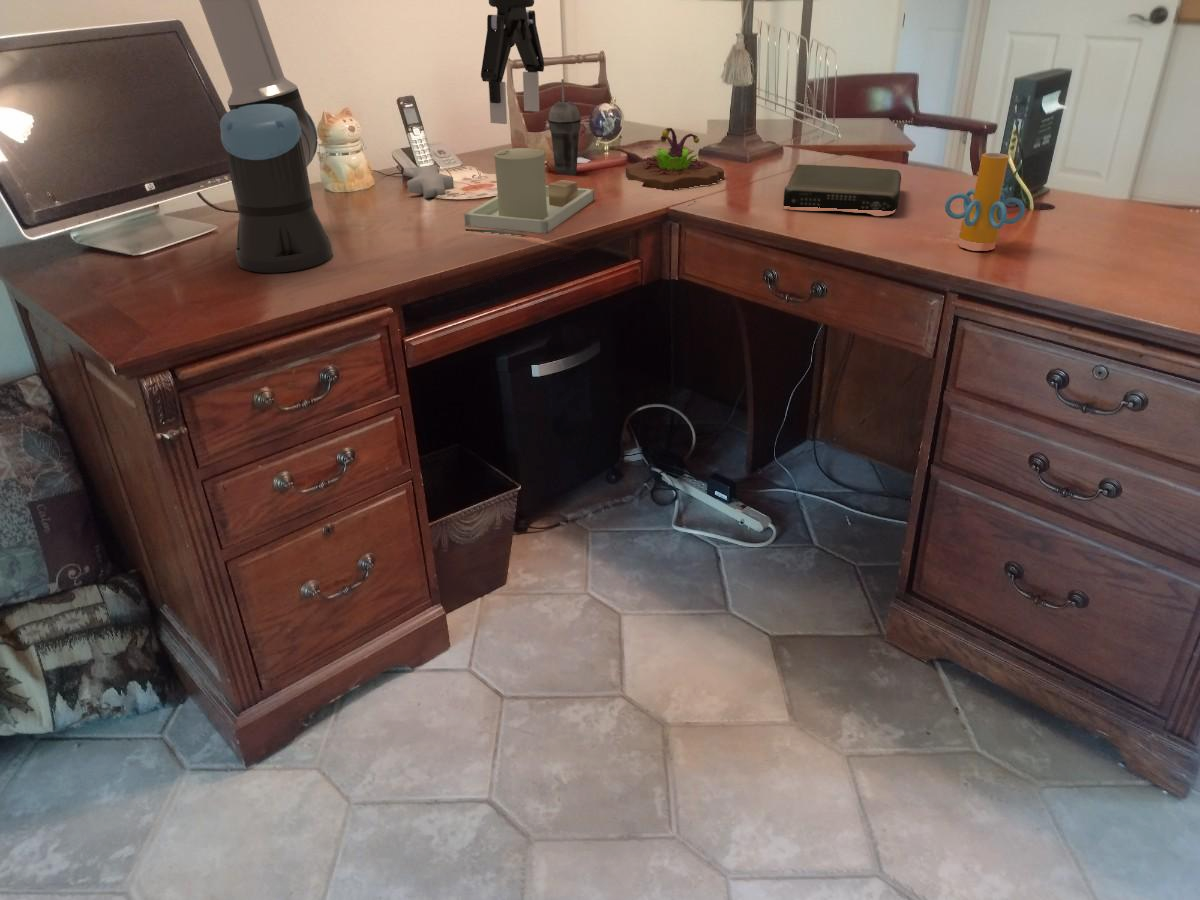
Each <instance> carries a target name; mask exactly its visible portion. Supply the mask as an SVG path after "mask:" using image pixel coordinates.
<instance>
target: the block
mask: <svg viewBox="0 0 1200 900" xmlns="http://www.w3.org/2000/svg"><path fill="white" fill-rule="evenodd" d="M578 184H579V183H578V182H577V181H572V180H564V179H560V180H557V181H553V182H551V183H548V184H547V186H549V205H553V206H558V207H563V206H564V205H566V204H568V203H569V202H571V201H572V200H574V199H575V198H577V197H578V188H579V187H578Z"/></svg>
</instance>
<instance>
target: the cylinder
mask: <svg viewBox="0 0 1200 900" xmlns="http://www.w3.org/2000/svg"><path fill="white" fill-rule="evenodd" d="M1009 159H1010V156H1009V155H1008V154H1005V153H1001V152H1000V153H998V152H985V153H982V154H981V158H980V164H979V169H978V173H977V178H976V183H975V189H974V188H973V189H969V190H968V191H967V192H966V193H961V192H957V193H954V194H952V195H950V196H949V197H948V198H947V200H946V201H945V204H944V210H945V213H946V214H947V216H948V217H950V218H952V219H955V220H960V219H963V220H962V222H961V226H960V230H959V235H958V238H959V237H960V238H961V239H963V240H966V241H970V242H976V243H993V242H996V241H997V242H998V239H999V234H1000V231H1001V230H1000V229H1001V228H1002V227H1003V226H1004V225H1005V224H1006V225H1011V224H1016V223H1017V222H1019V221H1020V220H1021V219H1022V218H1023V217H1024V215H1025V213H1026V207H1025V204H1024V202H1023V201H1022V200H1021V199H1019V198H1017V197H1007V198H1005V197H1006V196H1005V194H1004V192H1003V185H1004V181H1005V177H1006V171H1007V167H1008V164H1009V163H1008V162H1009ZM971 195H973V197H972V198H971ZM956 199H963V203H962V206H963V209H964V212H962V213H960V214H959V213H954V212H953V211H952V210H951V203H953V201H954V200H956ZM1009 203H1013V204H1016V205H1017V206H1018V207H1019V212H1018V214H1017V215H1016V216H1015V217H1014V218H1008V211H1007V207H1006V205H1007V204H1009Z"/></svg>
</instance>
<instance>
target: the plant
mask: <svg viewBox="0 0 1200 900" xmlns="http://www.w3.org/2000/svg"><path fill="white" fill-rule="evenodd" d="M670 133H671V137H669V134H670ZM677 137H678V136H677V135H676V132H675V130H674V129H673V128H672V127H667V128H664V129H663V130H662V133H661V137H660V142H661V143H666V142H667V141H668V143H669V146H670V147H669V148H668V150H667V151H666V150H665V149H662V148H658V149H657V150H656V154H657V155H656V154H653V153H651V155H652V157H653V158H651V157H646V158H645V160H642V161H637V162H635V163H633V164H631V165H628V166H626V167H625V177H626V178H627V180H628V181H638V182H639V183H642V185H641V188H647V189H648V188H649V189H654V188H656V189H655V190H660V189H661V190H662V191H667V190H672V191H675V190H674V189H678V190H680V189H679V188H688V189H690V188H689V187H694V186H700V185H709V184H712V183H717V182H718V183H719V181H718V180H720V179H725V170H724V169H723V168H722V167H721V166H716V165H715V164H712V163H710V162H707V161H704V160H698V158H697V155H698V153H694V154H692V155H690V156H689V154H690V152H691V149H688V147H684V144H685V143H686V140H687V139H689V138H691V137H692V138H693V142H694V143H695V144H698V143H700V138H699V137H698V136H697V135H695V134H693V133H689V134H685V135H684V136H683V137H682V139H681V140H680V142H678V140H677ZM658 155H659V156H658ZM688 156H689V157H688ZM695 157H696V158H695ZM720 181H721V180H720ZM709 186H710V185H709ZM700 187H701V186H700ZM694 188H695V187H694Z"/></svg>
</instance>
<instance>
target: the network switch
mask: <svg viewBox="0 0 1200 900" xmlns="http://www.w3.org/2000/svg"><path fill="white" fill-rule="evenodd" d="M901 183H902V175H901V172H900V171H899V170H897V169H890V168H877V167H876V168H874V167H859V166H858V167H857V166H841V165H840V166H839V165H824V164H823V165H818V164H796V165H795V169H794V170H793V173H792V174H791V177H790V179H789V181H788V183H787V185H785V187H784V194H783V207H784V206H790V207H818V208H819V207H820V208H837V209H858V210H882V211H893V210H895V209H898V206H899V199H900V191H901Z"/></svg>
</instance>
